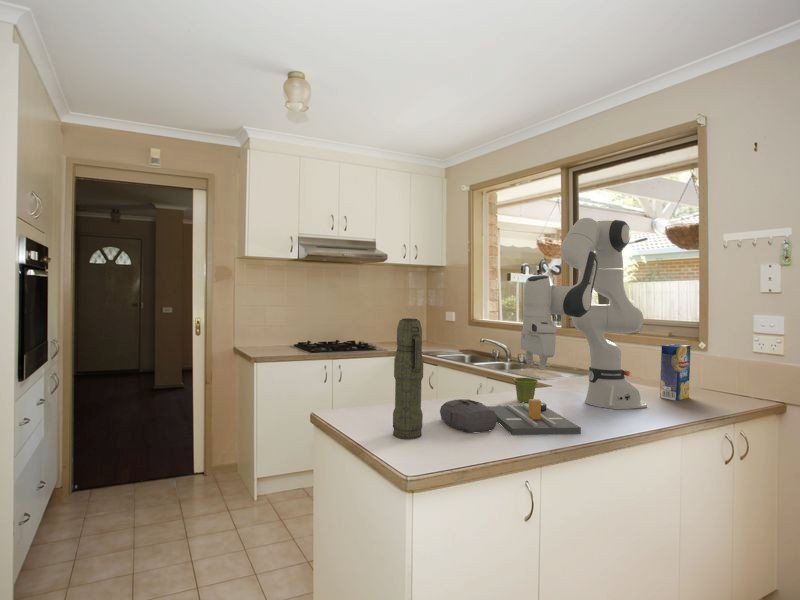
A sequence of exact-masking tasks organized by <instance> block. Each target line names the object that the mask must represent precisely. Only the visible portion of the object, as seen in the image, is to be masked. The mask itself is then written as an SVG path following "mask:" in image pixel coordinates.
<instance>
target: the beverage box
mask: <svg viewBox="0 0 800 600" xmlns="http://www.w3.org/2000/svg"><path fill="white" fill-rule="evenodd" d="M691 348H692V347H691V345H689V344H688V345H686V344H676V343H671V344H663V345H661V352H660V353H661V355H660V356H661V357H660V381H659V383H660V384H659V385H660V387H659V398H660V399H666V400H671V401H676V402H677V401H681V400H684V399H688V398H690V378H691V377H690V372H691V371H690V369H691Z"/></svg>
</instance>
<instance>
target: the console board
mask: <svg viewBox="0 0 800 600" xmlns="http://www.w3.org/2000/svg"><path fill="white" fill-rule="evenodd" d="M547 405H548V404H547V403H545V402H542V401H541V419H540V420H532V419H530V418H529V417H528V403H522V405H512V404H510V403H507V404H506V405H503V406H501V405H498V406H495V405H494V406H492V405H491V406H489V405H488V406H487V405H486V406H487V407H489V408H490V409H492V410H493V411H494V412H495V413H496V416H497V424H499V423H500V424H501V425H502V426H503V427H504V430H506V431H507V432H508V433H509V432H510V433H511V434H510V433H509V434H510V435H512V436H533V435H534V436H535V435H538V436H540V435H542V436H543V435H544V436H546V435H581V433H582V428H581V426H579V425H577V424H576V423H574V422H572V421H571V420H569V419H568V418H565V416H562V415H561V414H559V413H557V412H555V411H554V410H552V409H551V408H549V407H547ZM500 424H499V425H500ZM501 425H500V426H501ZM502 426H501V427H502ZM503 427H502V428H503Z"/></svg>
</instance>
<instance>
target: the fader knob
mask: <svg viewBox="0 0 800 600" xmlns="http://www.w3.org/2000/svg"><path fill="white" fill-rule="evenodd" d="M541 402H542V401H541V400H540V399H539V398H534V399H529V403H527V405H528V417H529V418H530V419H532V420H540V419H541Z"/></svg>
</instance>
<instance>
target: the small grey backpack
mask: <svg viewBox="0 0 800 600" xmlns="http://www.w3.org/2000/svg"><path fill="white" fill-rule="evenodd" d="M439 409H440V410H439V414H440V418H441V420H442V421H444V422H445V423H446V424H447V425H448V424H449V425H448V426H450V427H451V426H452V428H453V427H454V428H453V429H456V428H457V429H456V430H458V429H459V430H458V431H461V430H463V431H462V432H466V433H470V434H471V433H472V432H480V433H484V432H483V431H487V432H490V431H489V430H491V431H493V430H495V428H496V427H497V424H498V422H497V416H496V413H495V412H494V411H493V410H492V409H490V408H489V407H487V405H485V404H483V403H482V402H479V401H475V400H471V399H467V398H466V399H459V398H458V399H453V400H449V401H446V402H445V403H443V404H442V405H441V407H440V408H439Z"/></svg>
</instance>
